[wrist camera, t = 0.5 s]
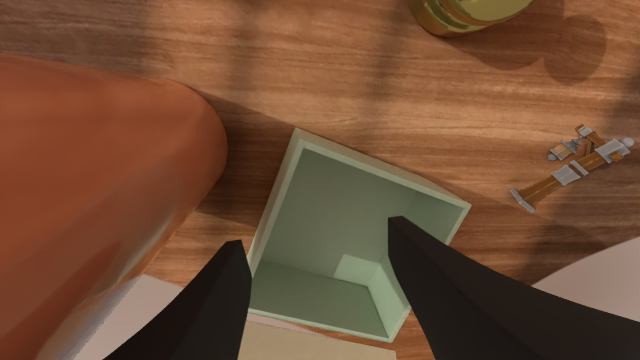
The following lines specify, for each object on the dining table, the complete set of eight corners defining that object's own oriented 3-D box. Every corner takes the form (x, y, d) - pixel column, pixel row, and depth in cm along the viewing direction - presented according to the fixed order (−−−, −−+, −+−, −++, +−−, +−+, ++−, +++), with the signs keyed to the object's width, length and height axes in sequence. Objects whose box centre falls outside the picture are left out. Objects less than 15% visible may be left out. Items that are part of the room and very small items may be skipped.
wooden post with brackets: (601, 123, 22) (649, 152, 18) (508, 182, 26) (533, 214, 23) (589, 111, 21) (636, 137, 18) (497, 173, 26) (520, 205, 22)
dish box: (367, 288, 25) (391, 343, 19) (246, 257, 22) (233, 310, 17) (425, 178, 22) (472, 205, 17) (295, 126, 20) (299, 138, 14)
